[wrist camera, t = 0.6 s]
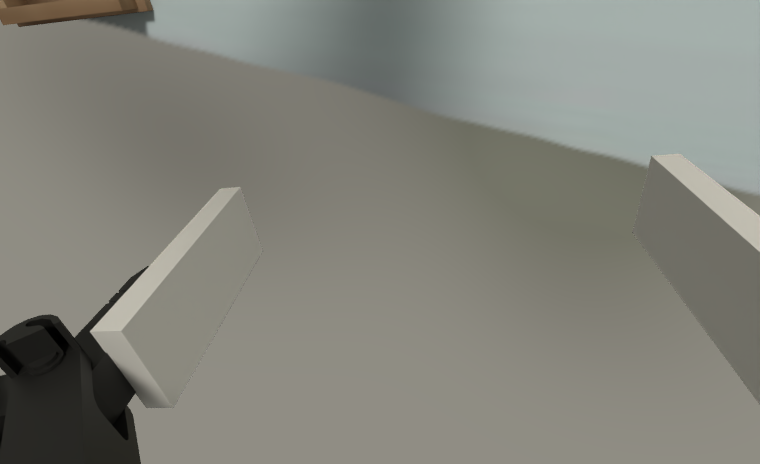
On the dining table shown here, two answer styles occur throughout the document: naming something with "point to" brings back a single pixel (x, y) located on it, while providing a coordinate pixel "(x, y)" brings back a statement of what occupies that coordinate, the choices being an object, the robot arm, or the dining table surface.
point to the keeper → (65, 10)
